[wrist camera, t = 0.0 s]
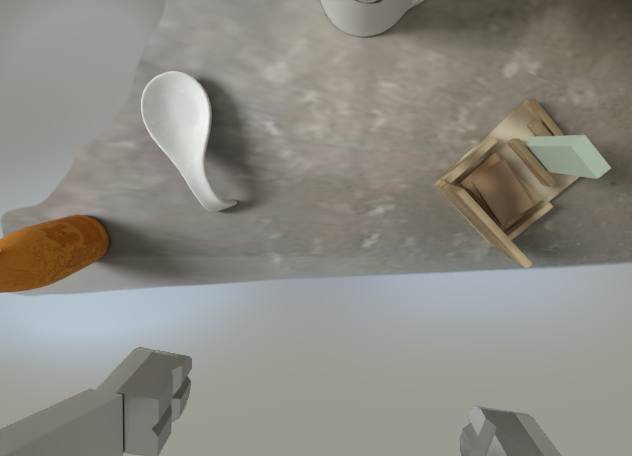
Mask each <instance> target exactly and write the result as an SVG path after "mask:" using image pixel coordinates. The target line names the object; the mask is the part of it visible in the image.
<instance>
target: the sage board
mask: <svg viewBox="0 0 632 456" xmlns="http://www.w3.org/2000/svg"><path fill="white" fill-rule="evenodd" d="M524 145H525V146H526V147H527V149H528V150H529V151H530V152H531V153H532V154H533V156H534V157H535V158H536V159H537V160H538V162H539V163H540V164H541V165H542V166H543V168H544V169H545V170H546V171H547V172H551V173H559V174H566V175H573V176H581V177H588V178H595V179H598V178H599V177H601V176H602V175H603V174H604V173H606V172H607V171H608V170H609V169H611V167H610V166H609V165H608V163H607V162H606V161H605V160H604V158H603V157H602V156H601V155H600V153H599V152H598V151H597V149H596V148H595V147H594V146H593V144H592V143H591V142H590V141H589V139H588V138H587V137H586V136H585V135H570V136H536V137H531V138H530V139H528V140H527V141H526V142H525V143H524Z"/></svg>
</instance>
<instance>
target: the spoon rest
mask: <svg viewBox="0 0 632 456" xmlns="http://www.w3.org/2000/svg"><path fill="white" fill-rule="evenodd" d="M141 112H142V117H143V121H144V123H145V126H146V128H147V130H148V132H149V133H150V135H151V136H152V138H153V139H154V141H155V142H156V143H157V144H158V145H159V147H160V148H161V149H162V150H163V151H164V152H165V154H166V155H167V156H168V157H169V158H170V159H171V161H172V162H173V163H174V164H175V166H176V167H177V168H178V170H179V171H180V172H181V174H182V175H183V177H184V179H185V180H186V182H187V184H188V185H189V187H190V189H191V190H192V192H193V193H194V195H195V196H196V198H197V199H198V200H199V202H200V203H201V204H202V205H203V207H204V208H206V209H207V210H208V211H209V212H217V211H220V210H223V209H226V208H229V207H231V206H234V205H236V204H237V201H235V200H227V201H226V200H223V199H222V198H220V197H219V196H218V195H217V193H216V192H215V191H214V189H213V187H212V186H211V184H210V181H209V179H208V177H207V174H206V169H205V154H206V148H207V144H208V140H209V136H210V130H211V123H212V109H211V104H210V100H209V97H208V95H207V93H206V91H205V89H204V88H203V86H202V85H201V84H200V83H199V82H198V81H197V80H196V79H195V78H193V77H192V76H190V75H188V74H186V73H183V72H179V71H169V72H165V73H162V74H160V75H158V76H156V77H155V78H153V79H152V80H151V81H150V82H149V83H148V85H147V86H146V88H145V89H144V92H143V95H142V99H141Z"/></svg>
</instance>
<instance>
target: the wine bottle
mask: <svg viewBox="0 0 632 456" xmlns="http://www.w3.org/2000/svg"><path fill="white" fill-rule="evenodd" d="M108 246H109V238H108V235H107V232H106V230H105V229H104V227H103V226H102V225H101V224H100V223H99V222H98V221H96V220H95V219H93V218H91V217H88V216H85V215H74V216H69V217H64V218H60V219H56V220H52V221H48V222H45V223H41V224H37V225H34V226H30V227H27V228H24V229H21V230H18V231H15V232H13V233H11V234H9V235H7V236H5V237H4V238H2V239H0V293H1V292H16V291H24V290H30V289H35V288H40V287H44V286H47V285H50V284H52V283H55V282H57V281H59V280H61V279H63V278H65V277H67V276H69V275H71V274H73V273H75V272H77V271H79V270H81V269H83V268H85V267H86V266H88V265H90V264H92V263H94V262H95V261H97V260H99V259H100V258H101V257H103V256H104V254H105V253H106V252H107V249H108Z"/></svg>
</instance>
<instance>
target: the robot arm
mask: <svg viewBox="0 0 632 456" xmlns="http://www.w3.org/2000/svg"><path fill="white" fill-rule="evenodd" d="M423 1H424V0H321V3H322V6H323V8H324V10H325V12H326V14H327V16H328V17H329V19H330V20H331V21H332V22H333V23H334V24H335V25H336V26H337V27H338V28H339V29H341V30H342V31H344V32H346V33H348V34H351V35H354V36H360V37H367V36H373V35H377V34H380V33H382V32H384V31H386V30H388V29H389V28H391V27H392V26H393V25H394V24H395V23H396V22H397V21H398V20H399V19H400V18H401V17H402V16H403V15H404V13H405V12H406V11H407V10H409V9H410V8H412V7H414V6H416V5H418V4H420V3H421V2H423ZM191 369H192V358H191V357H189V356H185V355H180V354H175V353H170V352H165V351H160V350H153V349H147V348H142V347H138V348H136V349H134V350H133V351H132V352H131V353H130V354H129V355H128V356H127V357H126V358H125V359H124V360H123V361H122V362H121V364H119V366H118V367H117V368H116V369H115V370H114V371H113V372H112V373H111V374H110V375H109V376H108V377H107V378H106V379H105V380H104V381H103V382H102V383H101V385H99V386H98V387H97V388H96V389H95V390H94V389H88V390H86V391H84V392H81V393H79V394H77V395H75V396H73V397H70V398H68V399H66V400H64V401H62V402H59V403H57V404H55V405H53V406H51V407H49V408H46V409H44V410H42V411H40V412H37V413H35V414H33V415H31V416H28V417H26V418H24V419H22V420H19V421H17V422H15V423H13V424H11V425H9V426H6V427H4V428H2V429H0V456H122V455H123V453H128V454H136V455H143V456H158V455H159V454H160V452H161V450H162V448H163V447H164V445H165V443H166V441H167V439H168V437H169V436H170V434H171V424H172V422H174V421H176V420H177V419H179V418H180V416H181V414H182V412H183V410H184V408H185V406H186V403H187V400H188V397H189V393H190V386H191V381H190V379H189V378H188V376H187V375H188V374H189V372H190V370H191ZM468 418H469V420H470V424H469V425H467V426H466V427H464V428H463V430H462V433H461V436H460V451H461V455H462V456H561V454H560V453H559V452H558V450H557V449H556V448H555V446H554V445H553V444H552V442H551V441H550V440H549V438H548V437H547V436H546V434H545V433H544V431H543V430H542V429H541V428H540V426H539V425H538V423H537V422H536V421H535V419H534V418H533V417H531V416H530V415H529V414H525V413H518V412H511V411H509V412H508V411H503V410H498V409H491V408H485V407H479V406H473V408H471V409H470V412H469V414H468Z"/></svg>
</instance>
